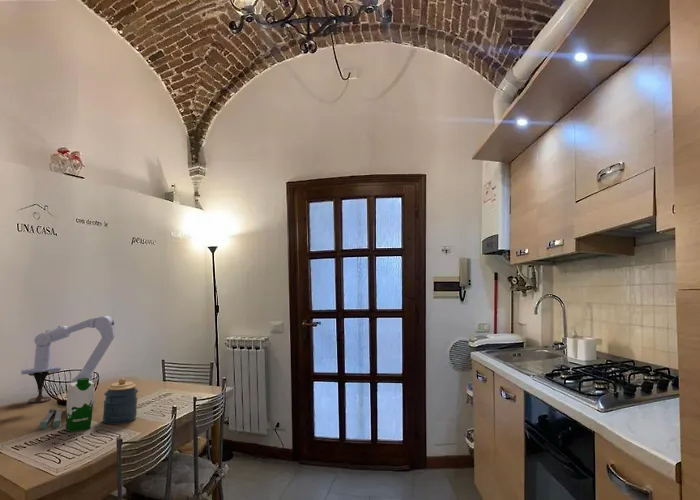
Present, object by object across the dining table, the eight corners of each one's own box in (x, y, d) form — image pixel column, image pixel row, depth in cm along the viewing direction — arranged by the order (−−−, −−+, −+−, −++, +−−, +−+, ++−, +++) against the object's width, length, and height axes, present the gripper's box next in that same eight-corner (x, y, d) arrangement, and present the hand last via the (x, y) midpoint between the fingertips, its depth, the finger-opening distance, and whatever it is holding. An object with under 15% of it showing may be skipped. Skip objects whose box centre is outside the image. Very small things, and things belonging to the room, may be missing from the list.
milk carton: (67, 433, 159) (71, 381, 161) (62, 428, 166) (66, 377, 168) (93, 428, 165) (97, 378, 167) (87, 423, 172) (91, 374, 174)
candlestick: (55, 400, 204) (61, 330, 207) (28, 405, 196) (35, 331, 199) (49, 396, 211) (55, 328, 214) (23, 400, 203) (29, 329, 206)
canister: (98, 419, 177) (101, 378, 178) (130, 413, 186) (132, 373, 188) (107, 427, 168) (111, 383, 169) (141, 419, 177) (143, 378, 179)
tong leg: (54, 417, 178) (54, 411, 179) (46, 428, 164) (47, 422, 164) (47, 418, 177) (48, 411, 178) (39, 429, 163) (40, 422, 163)
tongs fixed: (62, 414, 183) (62, 406, 183) (59, 427, 166) (60, 418, 167) (48, 415, 180) (49, 408, 181) (44, 429, 164) (45, 420, 164)
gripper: (21, 361, 182) (18, 392, 181) (61, 358, 190) (58, 388, 189) (23, 359, 188) (20, 389, 187) (61, 356, 196) (59, 385, 194)
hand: (39, 388), depth 188 cm, fingers closed
